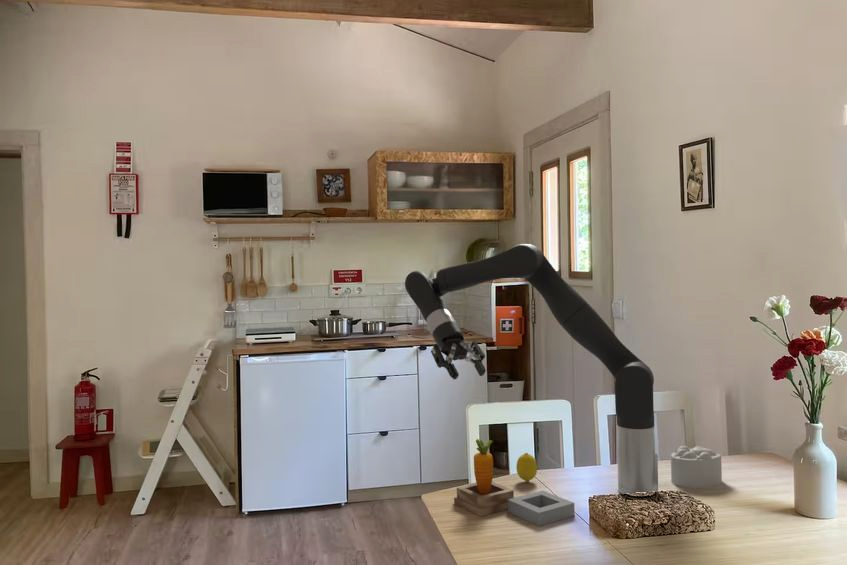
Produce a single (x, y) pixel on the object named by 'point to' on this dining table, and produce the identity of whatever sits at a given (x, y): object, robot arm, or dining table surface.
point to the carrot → (483, 467)
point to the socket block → (549, 511)
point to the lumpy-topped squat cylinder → (695, 467)
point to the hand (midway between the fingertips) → (470, 375)
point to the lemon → (526, 467)
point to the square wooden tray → (483, 499)
